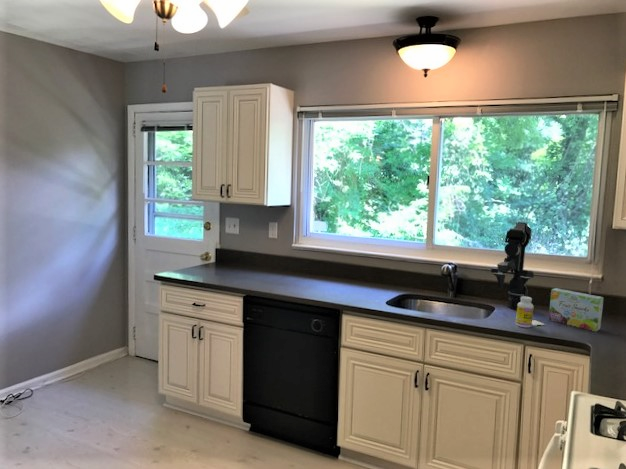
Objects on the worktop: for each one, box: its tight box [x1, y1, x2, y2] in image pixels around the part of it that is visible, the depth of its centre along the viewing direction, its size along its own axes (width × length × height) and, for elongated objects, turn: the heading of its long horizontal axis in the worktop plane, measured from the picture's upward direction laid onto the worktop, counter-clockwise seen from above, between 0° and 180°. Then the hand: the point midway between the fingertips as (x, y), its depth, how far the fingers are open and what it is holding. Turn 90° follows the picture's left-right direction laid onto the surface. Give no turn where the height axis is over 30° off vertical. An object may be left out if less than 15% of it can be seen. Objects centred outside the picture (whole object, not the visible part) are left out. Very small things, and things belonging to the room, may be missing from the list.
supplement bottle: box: [515, 296, 535, 329], centre depth 240 cm, size 7×7×13 cm
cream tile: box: [532, 319, 546, 327], centre depth 245 cm, size 6×6×1 cm
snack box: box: [548, 287, 604, 333], centre depth 245 cm, size 21×6×15 cm, turn 45°
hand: (509, 291), depth 246 cm, fingers open, 9 cm apart
